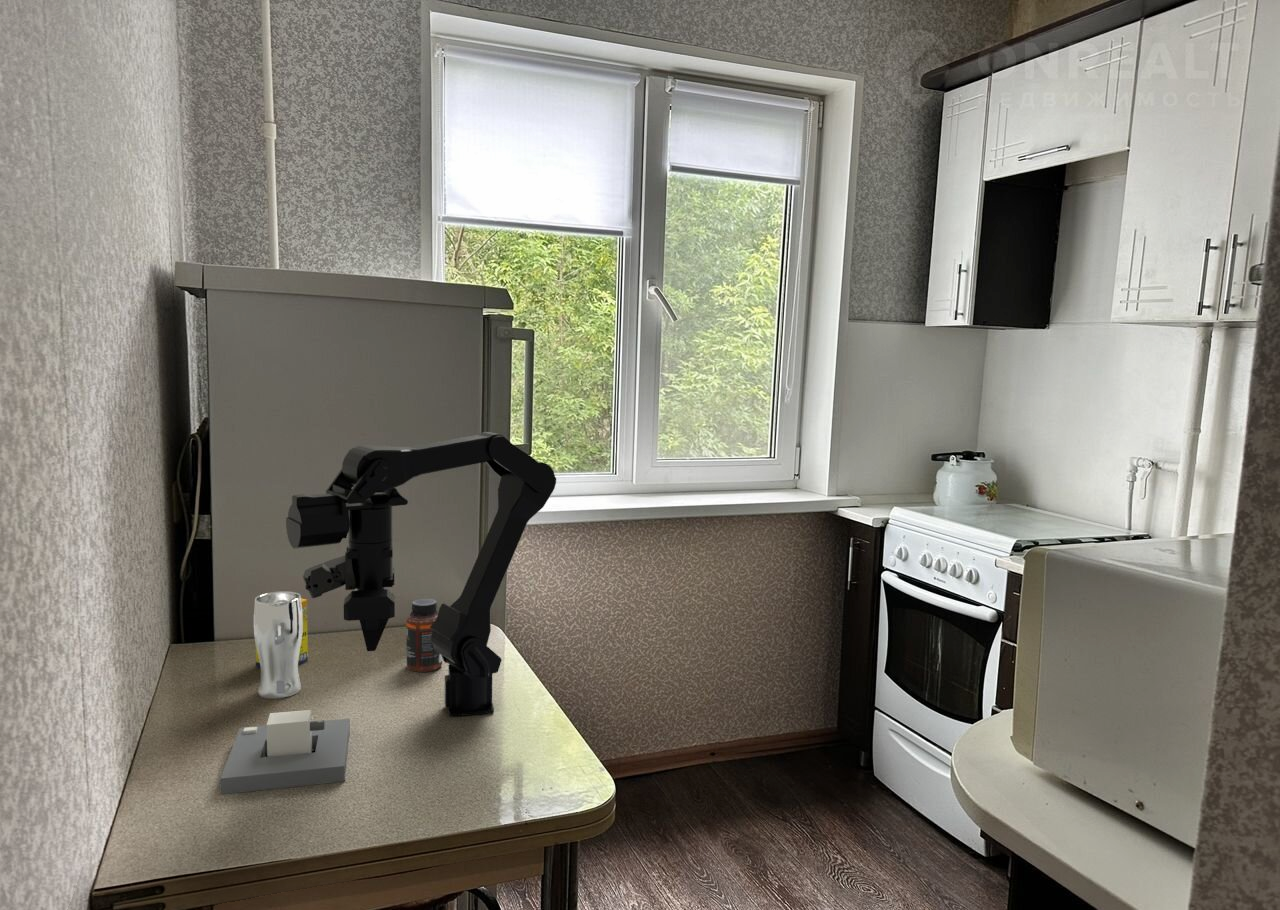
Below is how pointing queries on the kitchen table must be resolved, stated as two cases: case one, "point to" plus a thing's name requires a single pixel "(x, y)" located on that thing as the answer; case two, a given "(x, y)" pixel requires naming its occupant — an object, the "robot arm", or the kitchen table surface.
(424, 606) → the supplement bottle
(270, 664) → the beer glass
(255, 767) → the socket plate
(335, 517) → the robot arm
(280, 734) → the plug
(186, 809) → the kitchen table surface
